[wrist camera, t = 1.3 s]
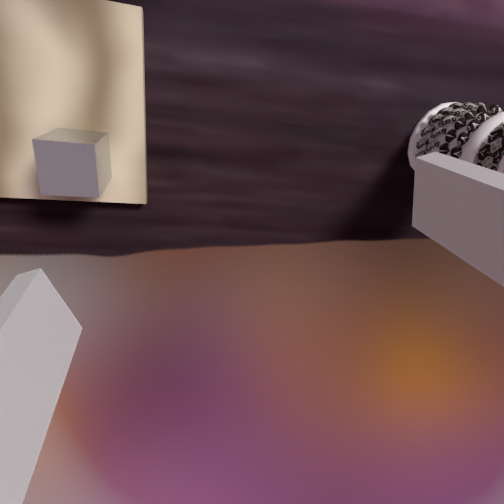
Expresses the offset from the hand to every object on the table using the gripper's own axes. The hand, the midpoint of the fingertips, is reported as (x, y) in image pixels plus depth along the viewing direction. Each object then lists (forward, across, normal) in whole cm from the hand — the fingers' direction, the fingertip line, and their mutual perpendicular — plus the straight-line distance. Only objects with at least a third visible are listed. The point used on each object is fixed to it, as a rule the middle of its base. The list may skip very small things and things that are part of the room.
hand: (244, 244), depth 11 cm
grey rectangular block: (+22, -10, +1) cm, 24 cm away
